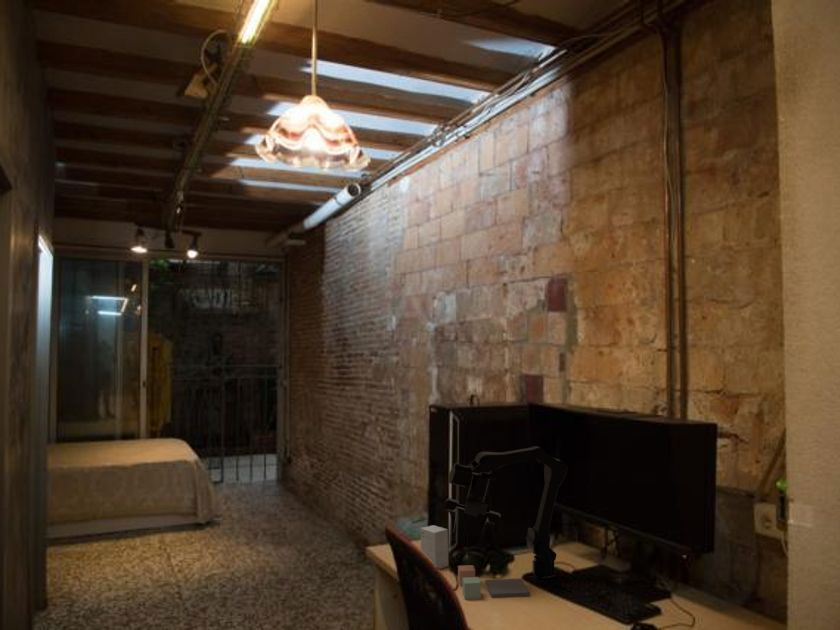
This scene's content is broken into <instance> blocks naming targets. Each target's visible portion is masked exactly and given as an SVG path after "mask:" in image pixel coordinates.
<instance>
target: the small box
mask: <svg viewBox="0 0 840 630" xmlns="http://www.w3.org/2000/svg"><path fill="white" fill-rule="evenodd" d="M448 530H449V529H448V528H444V527H441V526H437V525H434V524H432V525H428V526H424V527H423V526H422V527H420V551H421V550H422V551H423V552H424V553H425V554H426V555H427V556H428V557H429V558H430V559H431V560H432V562H433V563H434V564H435V565H436V566H437V567H438V568H439V569H438V570H441V569H444V568H447V567H449V536H448V535H449V534H448V533H449V531H448Z"/></svg>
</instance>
